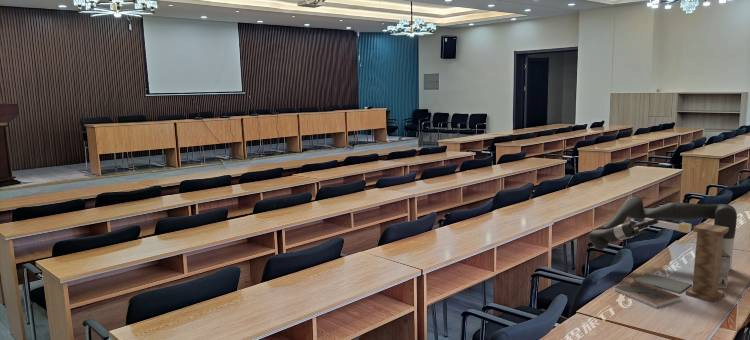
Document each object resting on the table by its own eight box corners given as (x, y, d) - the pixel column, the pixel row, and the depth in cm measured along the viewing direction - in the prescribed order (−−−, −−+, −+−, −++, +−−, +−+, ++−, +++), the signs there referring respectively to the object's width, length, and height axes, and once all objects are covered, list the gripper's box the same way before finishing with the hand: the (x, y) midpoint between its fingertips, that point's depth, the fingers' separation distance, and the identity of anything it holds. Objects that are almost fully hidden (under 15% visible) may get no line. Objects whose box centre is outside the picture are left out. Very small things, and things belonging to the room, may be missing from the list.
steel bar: (643, 224, 262) (643, 217, 261) (646, 222, 264) (647, 215, 264) (687, 233, 247) (688, 225, 246) (691, 231, 249) (691, 224, 249)
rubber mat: (633, 280, 264) (633, 279, 264) (646, 273, 273) (646, 272, 273) (679, 293, 248) (679, 292, 248) (691, 285, 257) (691, 283, 257)
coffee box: (705, 280, 263) (708, 248, 260) (719, 281, 261) (722, 249, 258) (712, 287, 254) (715, 255, 251) (727, 288, 252) (731, 256, 249)
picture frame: (614, 291, 254) (655, 309, 235) (614, 286, 254) (655, 303, 235) (638, 284, 261) (680, 301, 242) (638, 279, 261) (680, 296, 242)
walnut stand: (685, 294, 247) (691, 227, 242) (695, 286, 255) (701, 221, 249) (714, 302, 238) (721, 233, 233) (724, 294, 246) (730, 227, 240)
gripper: (616, 226, 267) (648, 215, 254) (629, 221, 276) (660, 210, 263) (622, 240, 266) (655, 230, 253) (635, 234, 274) (667, 224, 262)
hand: (658, 220), depth 258 cm, fingers closed on steel bar, 2 cm apart
